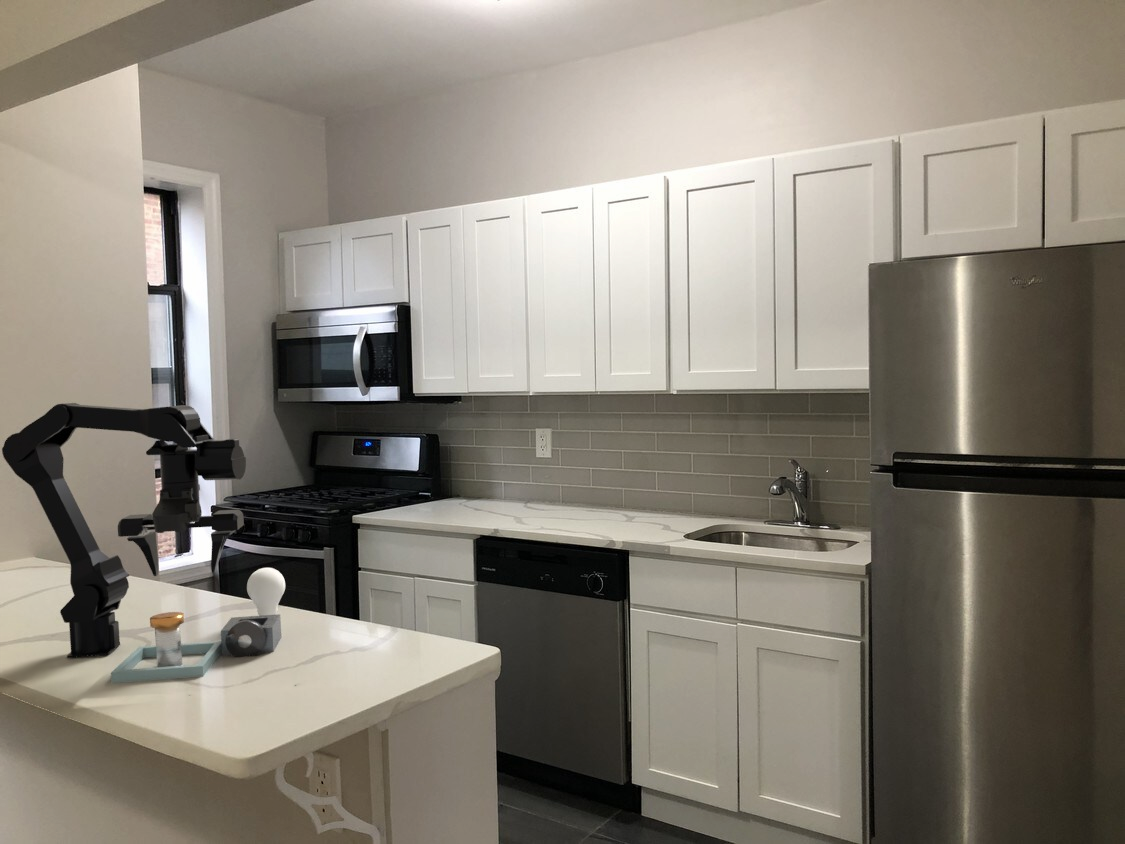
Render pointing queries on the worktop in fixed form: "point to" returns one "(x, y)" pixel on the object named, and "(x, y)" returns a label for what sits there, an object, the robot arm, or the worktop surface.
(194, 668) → the tray
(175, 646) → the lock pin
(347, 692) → the worktop surface
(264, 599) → the light bulb
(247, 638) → the block
